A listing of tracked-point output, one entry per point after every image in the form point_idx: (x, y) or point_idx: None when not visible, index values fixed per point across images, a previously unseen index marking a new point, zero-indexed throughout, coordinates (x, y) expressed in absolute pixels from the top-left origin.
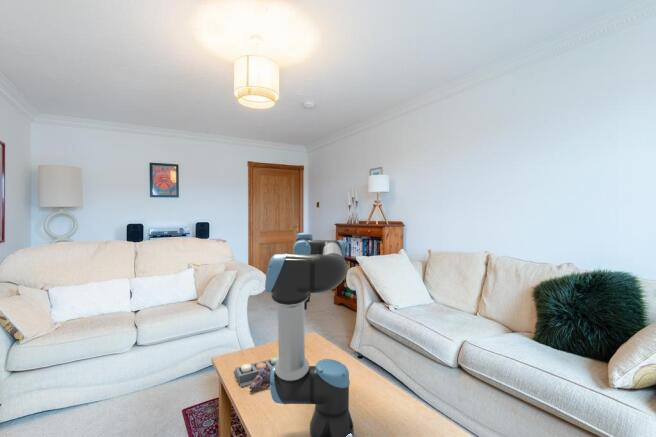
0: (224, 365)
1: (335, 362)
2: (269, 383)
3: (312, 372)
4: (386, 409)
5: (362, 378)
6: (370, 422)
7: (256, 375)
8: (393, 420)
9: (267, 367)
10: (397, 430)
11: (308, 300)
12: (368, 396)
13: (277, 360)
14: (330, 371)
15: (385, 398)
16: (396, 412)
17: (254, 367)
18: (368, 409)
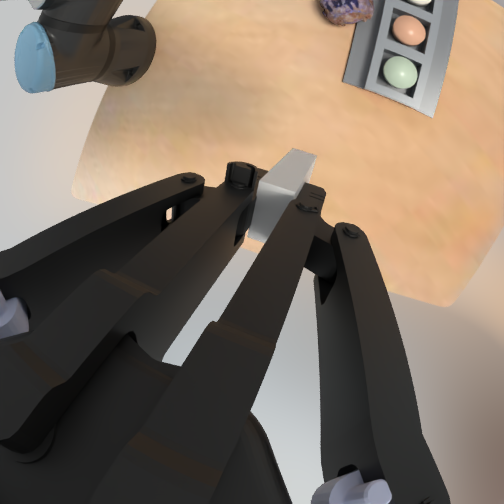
0: (501, 16)
1: (29, 74)
2: (322, 5)
3: (41, 14)
4: (117, 161)
5: None
6: (109, 116)
7: (384, 3)
8: (99, 149)
9: (350, 5)
10: (87, 138)
11: (171, 220)
12: (151, 164)
13: (388, 69)
14: (18, 48)
15: (135, 183)
16: (108, 167)
17: (413, 12)
18: (128, 136)
